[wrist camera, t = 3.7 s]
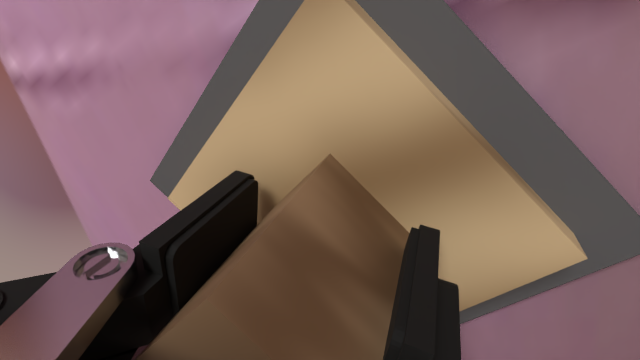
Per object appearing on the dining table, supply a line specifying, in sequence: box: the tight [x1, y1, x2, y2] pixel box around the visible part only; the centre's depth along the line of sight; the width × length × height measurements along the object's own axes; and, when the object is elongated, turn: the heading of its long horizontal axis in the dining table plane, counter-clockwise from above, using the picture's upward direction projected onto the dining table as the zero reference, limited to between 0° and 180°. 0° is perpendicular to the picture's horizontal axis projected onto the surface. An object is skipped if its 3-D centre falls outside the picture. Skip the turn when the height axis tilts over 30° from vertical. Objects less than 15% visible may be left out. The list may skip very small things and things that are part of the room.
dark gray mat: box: [150, 0, 640, 324], centre depth 12 cm, size 13×13×1 cm
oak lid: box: [135, 0, 588, 360], centre depth 9 cm, size 10×10×7 cm
